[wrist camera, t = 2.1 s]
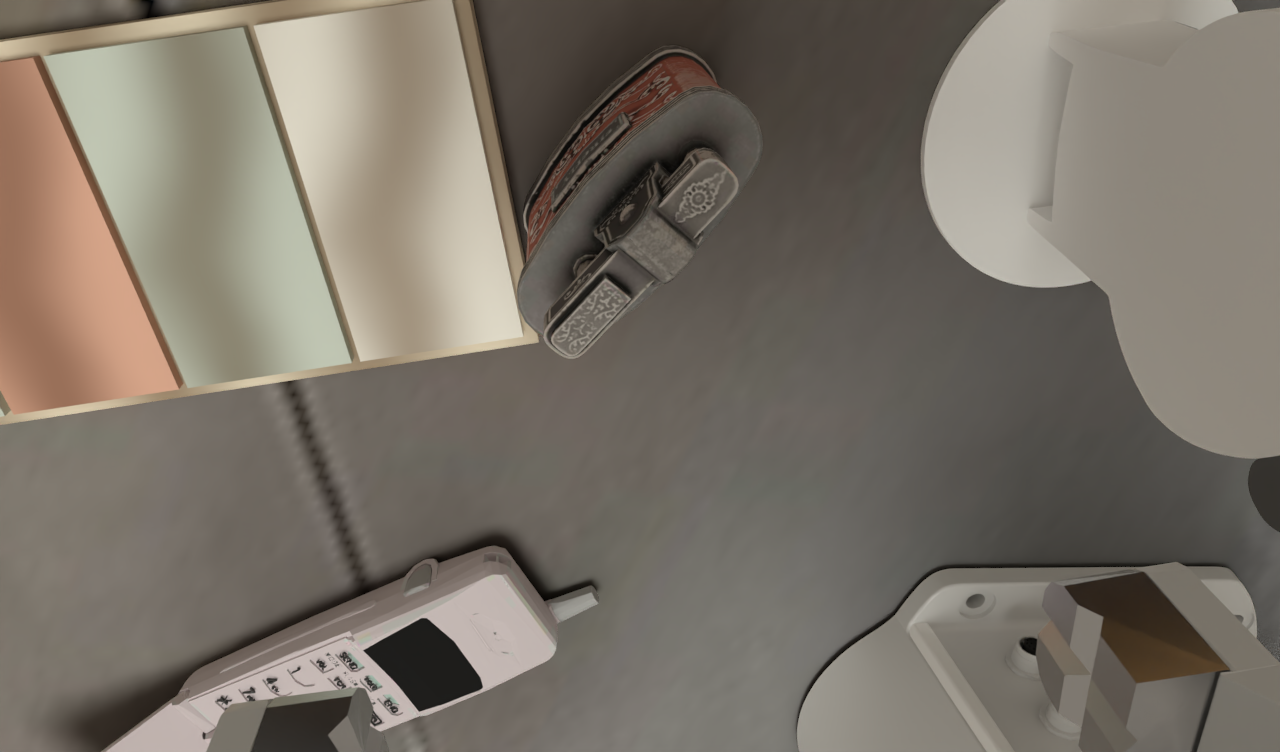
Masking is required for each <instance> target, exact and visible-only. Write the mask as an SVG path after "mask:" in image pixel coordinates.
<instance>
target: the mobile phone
mask: <svg viewBox="0 0 1280 752" xmlns="http://www.w3.org/2000/svg"><path fill="white" fill-rule="evenodd" d="M598 603H599V596H598V594H597V592H596V590H595V588H594V587H593V586H592V585H591V586H588V587H585V588H582V589H579V590H577V591H574V592H571V593H568V594H565V595H562V596H559V597H557V598H554V599H550V600H547V601H545V602H544V601H543V599H542V598H541V596H540V595H539V594H538V592H537V591H536V590H535V588H534V587H533V585H532V584H531V583H530V581H529V580H528V579H527V577H526V576H525V574H524V573H523V572H522V570H521V569H520V568H519V566H518V565H517V564H516V562H515V561H514V559H513V558H512V557H511V555H510V554H509V553H508V551H507V550H506V549H505V548H501V547H498V546H489V547H485V548H482V549H479V550H476V551H472V552H469V553H467V554H464V555H461V556H458V557H455V558H452V559H449V560H446V561H443V562H441V563H438V562H437V560H436V559H425V560H423V561H421V562H420V563H418V564H416V565H415V566H414V567H413V568H412V569H411V570H410V571H409V572H408V573H407V574H406V576H405V577H403V578H401V579H399V580H396V581H394V582H392V583H389V584H387V585H385V586H382V587H380V588H378V589H375V590H373V591H371V592H368V593H366V594H364V595H361V596H359V597H357V598H354V599H352V600H350V601H347V602H345V603H343V604H340V605H338V606H336V607H333V608H331V609H329V610H326V611H324V612H322V613H319V614H317V615H315V616H312V617H310V618H308V619H306V620H303V621H301V622H299V623H297V624H295V625H292V626H290V627H288V628H286V629H284V630H282V631H279V632H277V633H275V634H273V635H271V636H268V637H266V638H264V639H262V640H260V641H258V642H255V643H253V644H251V645H249V646H247V647H244V648H242V649H240V650H238V651H236V652H234V653H231V654H229V655H227V656H225V657H223V658H220V659H218V660H216V661H214V662H212V663H210V664H207V665H205V666H203V667H201V668H199V669H198V670H196V671H195V672H194V673H193V674H192V675H191V676H190V677H189V678H188V679H187V680H186V682H185V683H184V685H183V687H182V688H181V690H180V691H179V693H178V694H179V695H177V696H176V697H174V698H172V699H171V700H170V701H168V702H167V703H166V704H164V705H163V706H161V707H160V708H159V709H157V710H156V711H155V712H153V713H152V714H151V715H149V716H148V717H147V718H145V719H144V720H143V721H141V722H140V723H139V724H137V725H136V726H135V727H133V728H132V729H131V730H129V731H128V732H127V733H125V734H124V735H122V736H121V737H120V738H118V739H117V740H116V741H114V742H113V743H112V744H110V745H109V746H108V747H106V748H105V749H104V750H102V751H101V752H206V751H207V748H208V746H209V743H210V741H211V738H212V736H213V733H214V731H215V729H216V726H217V724H218V721H219V719H220V716H221V715H222V714H223V713H224V711H225V710H226V709H227V708H228V707H229V706H230V705H231V704H235V703H243V702H250V701H258V700H266V699H274V698H276V697H284V696H292V695H300V694H308V693H316V692H324V691H332V690H340V689H348V688H356V687H360V688H365V689H366V691H367V694H368V696H369V698H370V701H371V703H372V705H373V713H372V718H371V723H370V726H372V727H373V728H375V729H376V730H378V731H383V730H385V729H388V728H390V727H393V726H395V725H398V724H401V723H403V722H406V721H408V720H411V719H413V718H416V717H418V716H420V717H421V716H423V715H424V716H427V715H429V714H432V713H434V712H437V711H439V710H441V709H444V708H446V707H449V706H451V705H453V704H456V703H458V702H460V701H463V700H465V699H468V698H470V697H472V696H475V695H477V694H480V693H482V692H484V691H487V690H489V689H491V688H493V687H495V686H497V685H499V684H501V683H503V682H505V681H507V680H509V679H511V678H513V677H515V676H517V675H519V674H521V673H523V672H525V671H527V670H529V669H531V668H533V667H535V666H537V665H539V664H542V663H544V662H546V661H548V660H549V659H550V658H551V657H552V656H553V655H554V652H555V650H556V646H557V637H558V630H557V623H560V622H562V621H564V620H566V619H568V618H570V617H572V616H574V615H576V614H578V613H580V612H582V611H584V610H586V609H588V608H590V607H592V606H594V605H596V604H598Z"/></svg>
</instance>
